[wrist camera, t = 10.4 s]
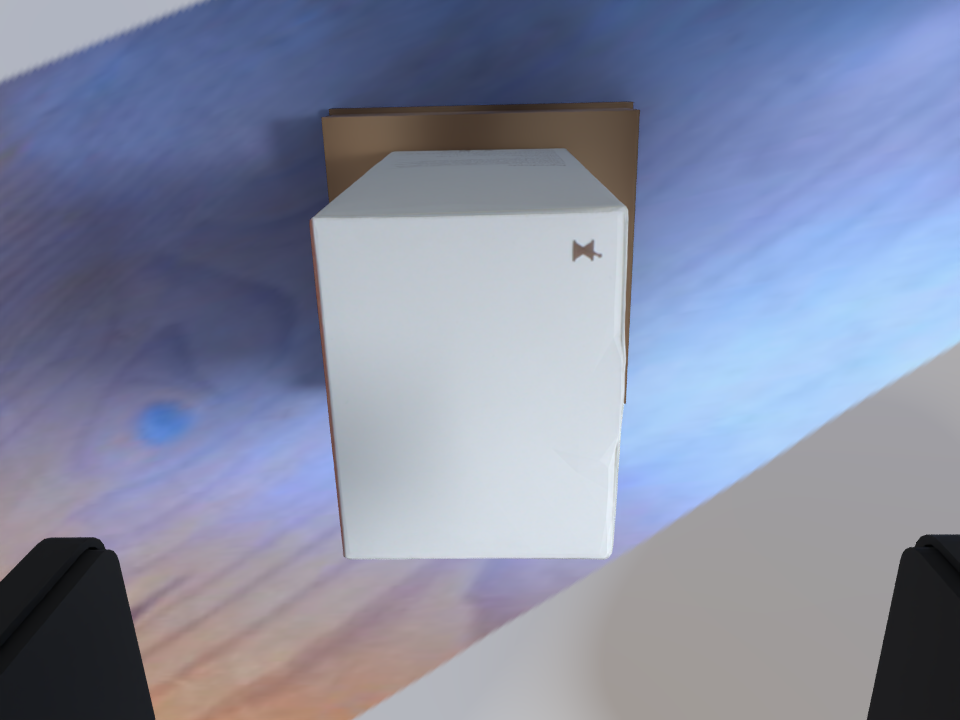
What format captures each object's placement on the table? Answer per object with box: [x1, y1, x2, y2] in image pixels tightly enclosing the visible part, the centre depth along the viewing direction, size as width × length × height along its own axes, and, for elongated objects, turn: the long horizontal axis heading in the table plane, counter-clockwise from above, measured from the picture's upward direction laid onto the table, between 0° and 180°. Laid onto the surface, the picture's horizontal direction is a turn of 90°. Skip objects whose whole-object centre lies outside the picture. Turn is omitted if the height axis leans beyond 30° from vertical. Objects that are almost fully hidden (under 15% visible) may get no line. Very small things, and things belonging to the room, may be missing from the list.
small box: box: [309, 148, 628, 559], centre depth 22 cm, size 8×6×13 cm
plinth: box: [321, 102, 640, 404], centre depth 29 cm, size 11×11×3 cm
